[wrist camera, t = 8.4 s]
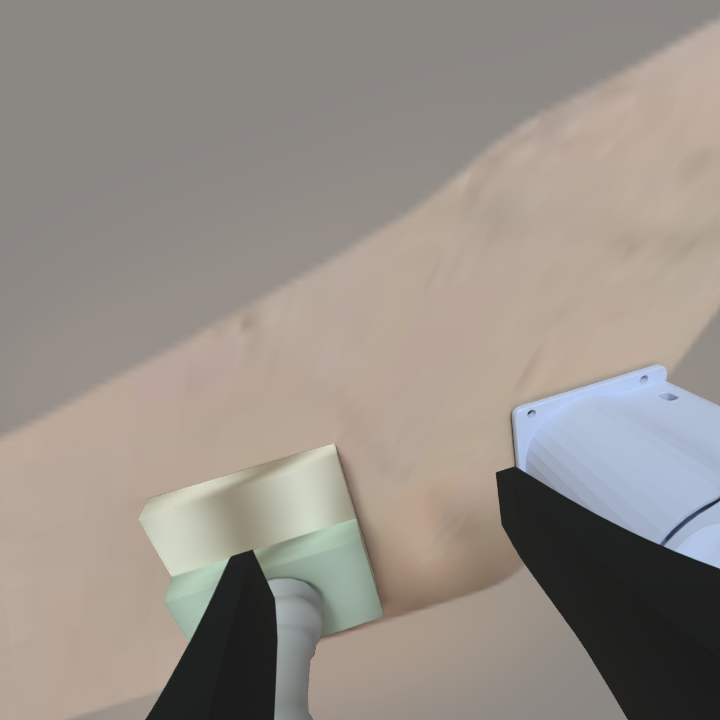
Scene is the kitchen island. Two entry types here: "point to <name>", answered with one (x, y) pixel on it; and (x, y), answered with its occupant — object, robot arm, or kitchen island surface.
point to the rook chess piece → (295, 644)
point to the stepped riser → (267, 537)
